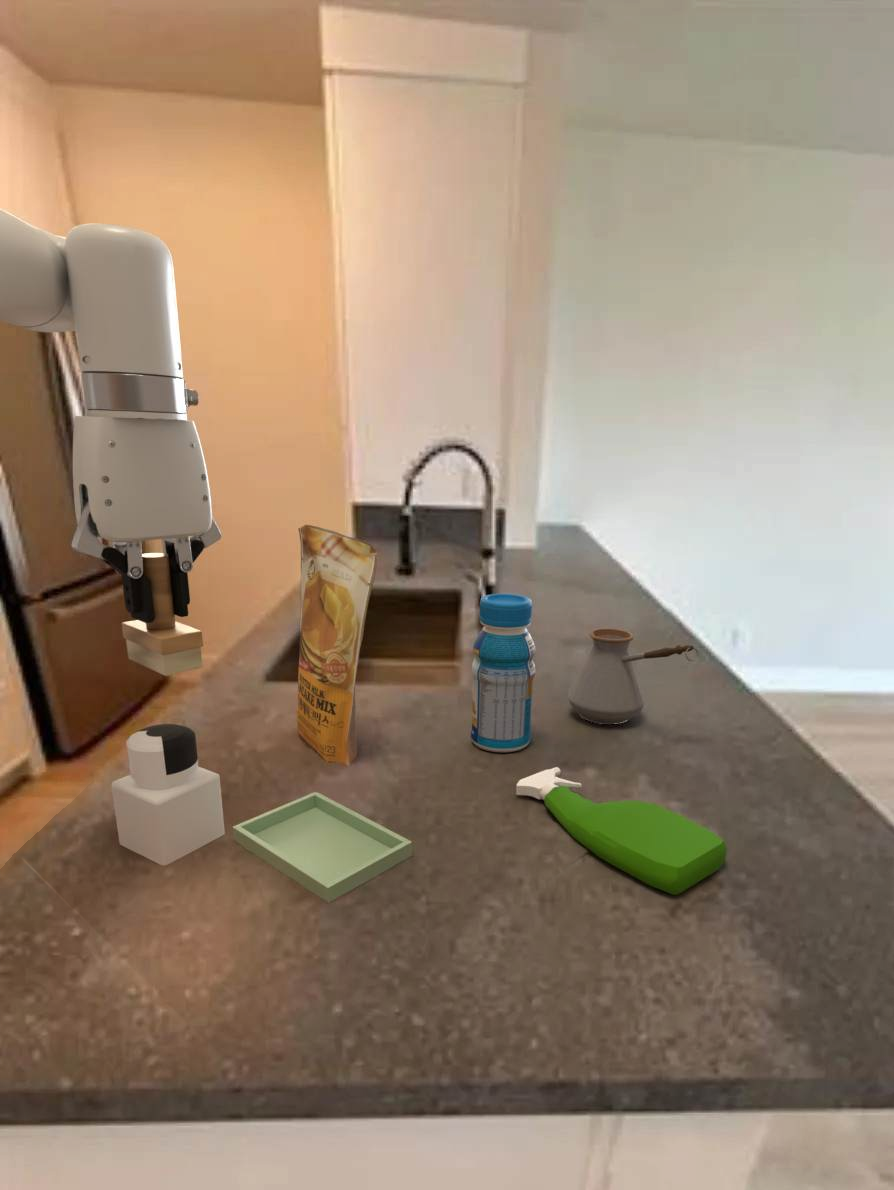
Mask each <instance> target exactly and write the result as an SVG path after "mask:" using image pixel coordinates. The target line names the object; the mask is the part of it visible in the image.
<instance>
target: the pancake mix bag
mask: <svg viewBox="0 0 894 1190" xmlns="http://www.w3.org/2000/svg"><path fill="white" fill-rule="evenodd" d="M297 530H298V534H299V541H300V542H299V543H300V594H299V595H300V615H299V649H298V650H299V655H298V676H297V705H296V724H297V725H296V727H297V732H298V734H299V737H300V738H301V739H302V740H303V741H304V742H305V743H306V744H307V745H308V746H309V747H310V748H311V749H314V751H316V752H317V754H318V755H319V756H320V757H321V759H323V760H324V761H326V762H327V763H342V764H344V765H346V767H347V766H348V767H349V766H350V765H351V764H352V762H353V761H354V760H355V759H356V758H357V753H358V743H357V742H358V741H357V738H356V737H357V725H356V679H357V672H358V666H359V665H358V664H359V658H360V651H361V647H362V641H363V637H364V631H365V623H366V617H367V612H368V607H369V601H370V597H371V593H372V589H373V585H374V582H375V579H376V572H377V568H378V552H377V550H376V549H375V548H374V546H372V544H370V543H368V542H367V541H366V540H363V539H358V538H355V537H351V536H347V535H345V534H342V533H340V532H337V531H335V530H331V529H327V528H323V527H320V526H316V525H312V524H311V525H309V524H304V525H303V526H301V527H298V528H297Z"/></svg>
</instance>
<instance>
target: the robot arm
mask: <svg viewBox="0 0 894 1190" xmlns="http://www.w3.org/2000/svg"><path fill="white" fill-rule="evenodd" d="M175 281H176V280H175V269H174V262H173V257H172V254H171V251H170V249H169V247H168V246H167V244H166V243H165V242H164V241H163V239H161V238H159V237H158V236H156V235H154V234H153V233H150V232H148V231H145V230H142V229H140V228H139V229H138V228H134V227H130V226H125V225H120V224H110V223H84V224H79V225H76V226H73V227H72V228H71V229H70V230H69V231H68V233H67V234H66V236H61V235H56V234H54V233H51V232H49V231H47V230H44V229H42V228H40V227H38V226H34V225H32V224H30V223H28V222H26V221H24V220H22V219H21V218H19V217H17V216H15V215H13V214H12V213H10V212H8V211H7V210H4V209H2V208H0V322H1V323H4V324H8V325H10V326H13V327H17V328H21V329H24V330H28V331H33V332H40V333H64V332H65V333H66V332H75V336H76V344H77V351H78V360H79V366H80V367H79V368H80V372H81V373H80V376H81V384H82V390H83V400H84V407H85V415H75V416H74V421H73V422H74V423H73V433H72V485H73V487H72V488H73V501H74V510H75V518H76V529H75V532H74V535H73V538H72V541H71V548H72V549H73V550H74V551H76V552H78V553H82V554H84V555H87V556H90V557H93V558H96V559H100V560H101V561H103V563H105V564H107V565H108V566H109V567H111V568H112V569H113V570H114V571H115V572H116V574H119V575H121V582H122V590H123V597H124V598H123V599H124V607H125V609H126V611H127V613H129V614H130V616H131V618H132V619H135V620H139V621H142V622H144V623H150V622H153V620H155V615H154V606H153V597H152V588H151V581H150V579H149V578H147V577H144V570H143V563H142V554H143V551H142V550H143V549H142V542H143V541H155V540H161V545H162V551H163V552H162V553H165V554H168V557H169V567H170V577H171V586H172V596H173V606H174V616H177V617H179V618H185V617H188V616H189V606H188V605H190V603H191V595H190V585H189V575H188V573H191V571H193V568H194V563H195V561H196V560H197V559H198V558H199V556H200V555H201V553H202V552H203V551H204V550H205V549H207V548H209V547H210V546H212V545H213V544H215V543H217V542H218V541H220V540H221V538H222V532H221V530H220V528H219V527H218V525H217V523H216V520H215V519H214V517H213V506H212V498H211V489H210V488H211V487H210V482H209V476H208V475H209V474H208V469H207V465H206V461H205V456H204V455H205V454H204V450H203V447H202V444H201V440H200V435H199V433H198V430H197V426H196V424H195V421H194V420H188V414H189V407H190V406H192V407H196V406H198V405H199V403H200V397H199V393H198V391H197V390H196V389H189V388H188V387H187V383H186V382H187V381H186V380H184V372H183V362H182V361H183V359H182V349H181V348H182V347H181V339H180V337H181V336H180V327H179V325H180V324H179V314H178V304H177V292H176V291H177V290H176V282H175ZM99 538H102V539H104V540H106V541H109V542H111V545H112V546H110V545H106V544H104V543H101V542H100V541H99Z"/></svg>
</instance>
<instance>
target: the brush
mask: <svg viewBox="0 0 894 1190" xmlns="http://www.w3.org/2000/svg"><path fill="white" fill-rule="evenodd" d="M142 563H143V570H144V577H147V578H149V579H150V581H151V588H152V597H153V606H154V615H155V620H153V622H150V623H144V622H142V621H139V620H137V619H135V620H129V621H122V622H121V631H122V638H123V639H125V643H126V650H127V657H128V660H130V661H132V662H134V663H136V664H138V665H141V666H143V667H145V668H147V669H150V670H151V671H154V672H155V673H158V674H160V675H163V677H168V676H172V675H177V674H181V673H185V672H189V671H193V670H199V669H202V668H203V657H202V656H203V655H202V648H203V647H204V640H203V631H202V630H200V629H197V628H195V627H192V626H190V625H188V624H187V625H186V624H184V623H181V622H179V621H177V620H176V619H175V618H176V617H175V616H176V615H174V606H173V596H172V586H171V577H170V567H169V557H168V554H165V553H164V552H148V553H147V552H146V553H142Z"/></svg>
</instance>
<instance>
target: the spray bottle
mask: <svg viewBox="0 0 894 1190" xmlns="http://www.w3.org/2000/svg"><path fill="white" fill-rule="evenodd" d="M559 775H561V769H560V768H559V767H557V766H556V767H552V768H548V769H544V770H541V771H539V772H536V773H534V774H531V775H529V776H526V777H524V778H521V779H519V780H518V782H517V783H516V785H515V788H516V789H515V795H516V796H528V797H532V798H535V799H537V800H543V801H544V805H545V806H546V807H547V808H548V810H549V811H550V812H551V814H552V815H553V816H554V817H555V818H556V819H557V821H558V822H559V824H560V825H562V827H563V828H564V829H565V830H566V831H567V832H568V833H569V834H570V835H571V837H573V838H574V839H575V840H577V841H578V842H579V843H580V844H581V845H583V846H584V847H585V848H587V849H588V850H589V851H590V852H592V853H593V854H594V855H595V856H596V857H598V858H600V859H601V860H603V861H605V862H607V863H608V864H610V865H612V866H613V867H615V868H617V869H618V870H621V871H622V872H625V873H626V874H628V875H630V876H631V877H634V878H635V879H637V880H639V881H641V882H642V883H644V884H646V885H648V886H650V887H652V888H655V889H657V890H660V891H661V892H664V893H667V894H670V895H671V896H672V895H673V896H678V895H679V894H681V893H683V892H684V891H686V890H688V889H689V888H691V887H692V886H694V885H696V884H697V883H699V882H700V881H702V880H704V879H706V878H707V877H709V876H710V875H712V874H714V873H716V872H717V871H718V870H719V869H720V868H721V867H722V866H723V865H724V863H725V862H726V858H727V852H728V851H727V850H728V847H727V844H726V842H725V840H724V839H722V838H721V837H720V836H718V835H717V834H716V833H714V832H713V831H712V830H710V829H708V828H706V827H704V826H703V825H701V824H698V823H697V822H694V821H692V820H690V819H689V818H687V817H685V816H683V815H681V814H678V813H676V812H674V811H672V810H669V809H667V808H665V807H662V806H661V805H659V804H656V803H651V802H646V801H641V800H612V801H606V802H600V803H597V802H593V801H591V800H590V799H589V798H583V797H582V796H581V795H580V794H579V793H577V792H572V791H571V789H570V788H578V789H579V788H582V783H581V782H575V781H571V780H568V779H564V778H562V777H558V776H559Z"/></svg>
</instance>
